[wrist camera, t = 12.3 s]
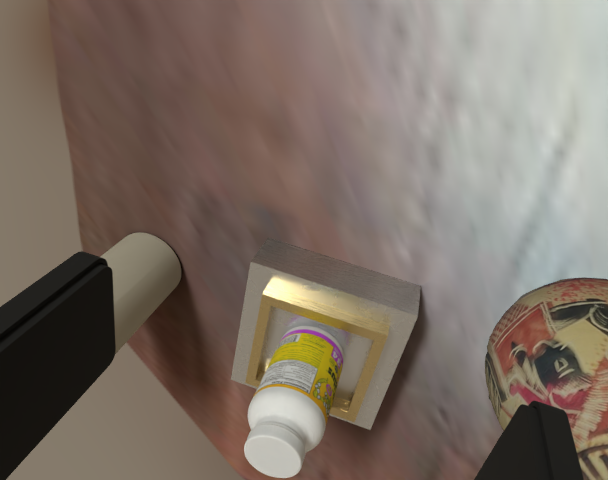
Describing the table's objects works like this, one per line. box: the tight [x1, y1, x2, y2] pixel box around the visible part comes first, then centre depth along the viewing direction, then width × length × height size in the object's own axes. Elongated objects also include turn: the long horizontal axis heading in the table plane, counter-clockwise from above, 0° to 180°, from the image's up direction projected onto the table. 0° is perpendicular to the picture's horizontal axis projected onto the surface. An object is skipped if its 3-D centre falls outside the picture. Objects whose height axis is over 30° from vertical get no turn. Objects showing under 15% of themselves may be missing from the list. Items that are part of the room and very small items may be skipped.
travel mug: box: [101, 233, 181, 354], centre depth 47 cm, size 8×8×18 cm
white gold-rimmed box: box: [231, 238, 421, 430], centre depth 49 cm, size 16×18×6 cm
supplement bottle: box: [244, 326, 344, 478], centre depth 42 cm, size 7×7×13 cm
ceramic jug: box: [485, 278, 608, 480], centre depth 32 cm, size 17×15×30 cm
